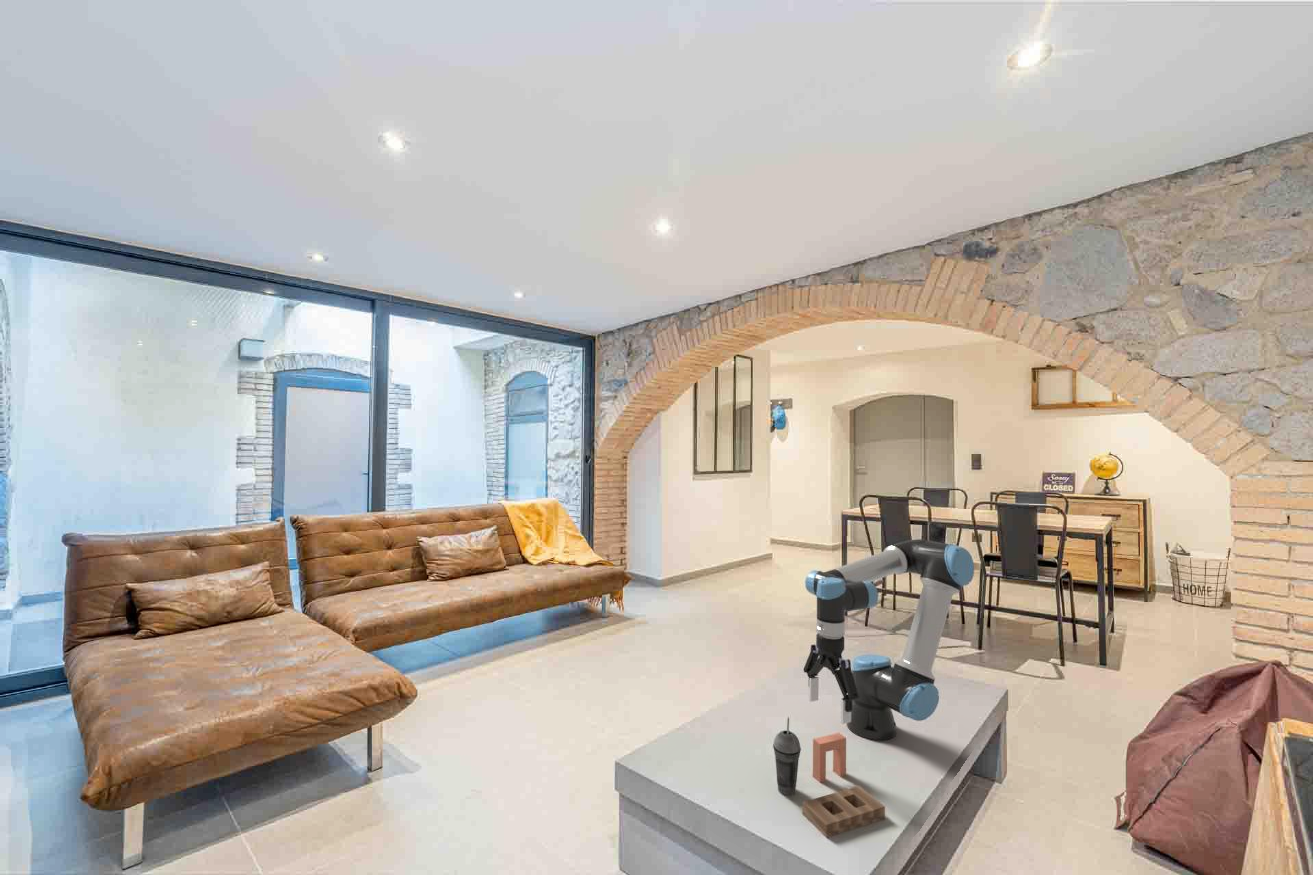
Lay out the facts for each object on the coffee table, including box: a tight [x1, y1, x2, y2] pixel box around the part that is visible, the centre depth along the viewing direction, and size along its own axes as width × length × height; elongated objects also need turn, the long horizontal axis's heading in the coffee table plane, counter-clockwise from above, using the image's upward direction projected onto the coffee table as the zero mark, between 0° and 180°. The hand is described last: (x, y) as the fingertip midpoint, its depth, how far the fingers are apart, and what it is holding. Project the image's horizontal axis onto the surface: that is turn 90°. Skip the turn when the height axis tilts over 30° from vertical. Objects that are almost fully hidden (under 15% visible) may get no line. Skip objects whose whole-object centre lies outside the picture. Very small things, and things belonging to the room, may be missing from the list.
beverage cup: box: [772, 717, 802, 797], centre depth 151 cm, size 7×7×20 cm
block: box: [812, 732, 847, 783], centre depth 158 cm, size 9×3×10 cm, turn 112°
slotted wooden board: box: [802, 785, 886, 838], centre depth 141 cm, size 18×9×3 cm, turn 112°
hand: (829, 710), depth 158 cm, fingers open, 13 cm apart
